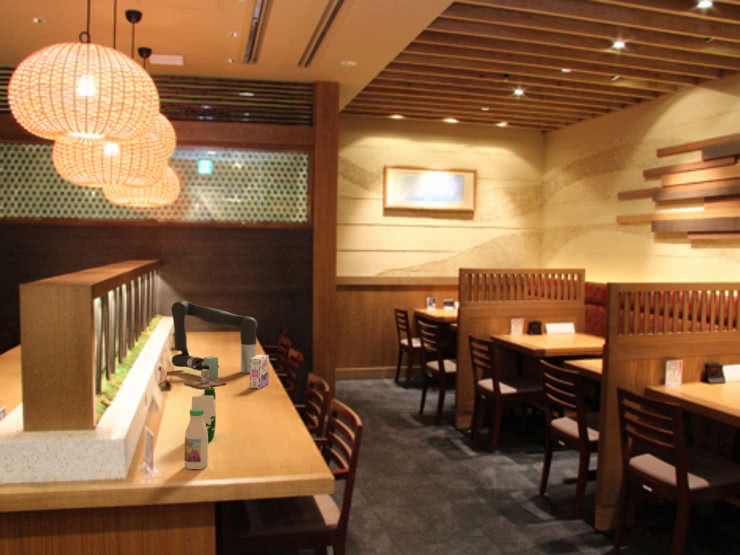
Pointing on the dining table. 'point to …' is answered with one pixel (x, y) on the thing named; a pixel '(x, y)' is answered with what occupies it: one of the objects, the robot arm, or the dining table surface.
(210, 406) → the white green-capped container
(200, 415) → the milk bottle
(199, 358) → the robot arm
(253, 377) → the candy box
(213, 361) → the teal cap
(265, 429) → the dining table surface
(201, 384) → the walnut base
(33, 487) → the dining table surface
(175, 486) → the dining table surface
